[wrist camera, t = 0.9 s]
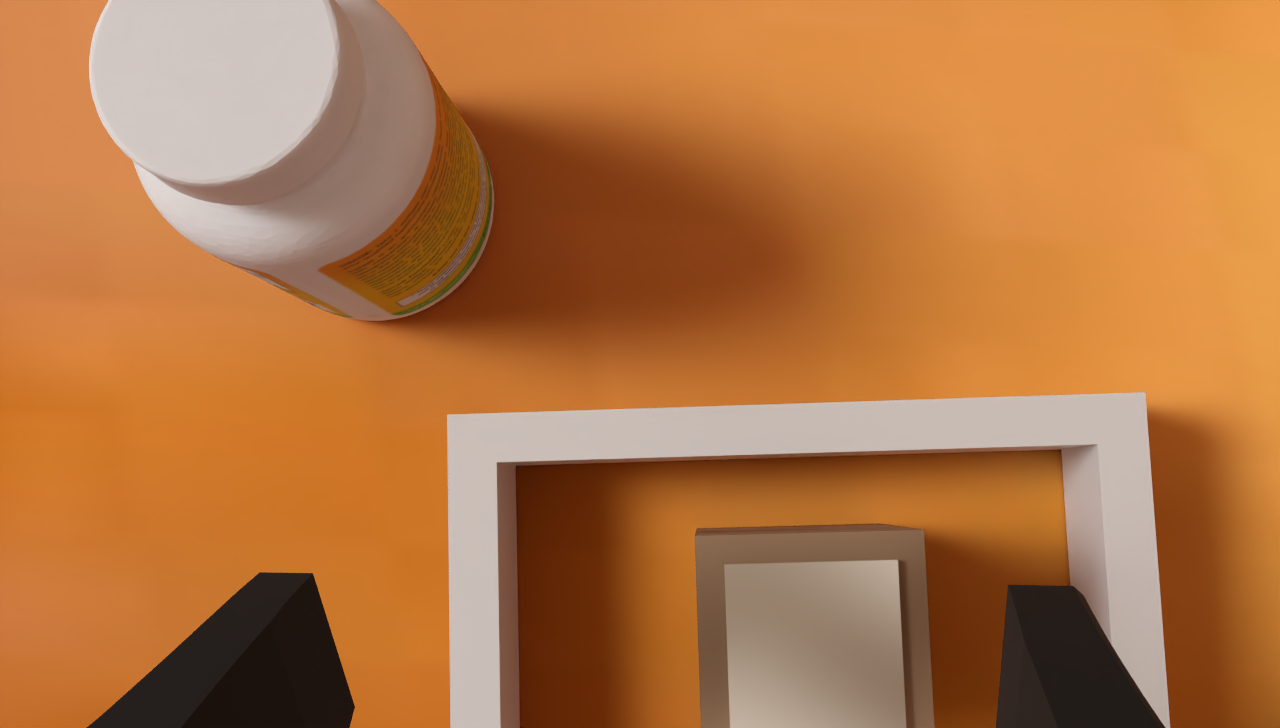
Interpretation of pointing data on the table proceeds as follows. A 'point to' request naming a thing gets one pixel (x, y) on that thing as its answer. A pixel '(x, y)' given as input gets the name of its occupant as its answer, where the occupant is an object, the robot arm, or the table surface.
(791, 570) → the labelled walnut box
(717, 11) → the table surface
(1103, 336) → the table surface
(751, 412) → the white rectangular frame
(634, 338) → the table surface
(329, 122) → the supplement bottle
